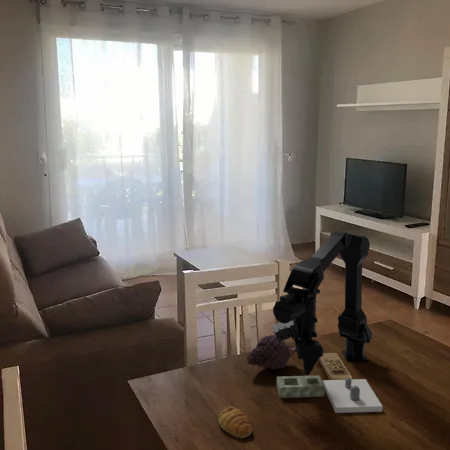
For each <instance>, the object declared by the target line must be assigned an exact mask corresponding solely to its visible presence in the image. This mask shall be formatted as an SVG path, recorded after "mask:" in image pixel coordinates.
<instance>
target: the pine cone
mask: <svg viewBox="0 0 450 450" xmlns="http://www.w3.org/2000/svg"><path fill="white" fill-rule="evenodd" d="M295 353H297V350H296V346H294V345H288V344H286V342H285V340H283V341H281V342H278V341H277V339H276V337H275V334H269V335H265V336H264V337H262V338H261V339H260V341H259V342H258V343H257V344H256V346H255V348H253V349H252V350H251V351H250V353H249V354H248V355H247V357H246V361H247V364H248V365H251V366H257V367H261V368H266V367H267V368H268V369H270V370H279V369H284V367H286V366H287V364H288V362H289V359H290V357H292V355H293V354H295Z"/></svg>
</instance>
